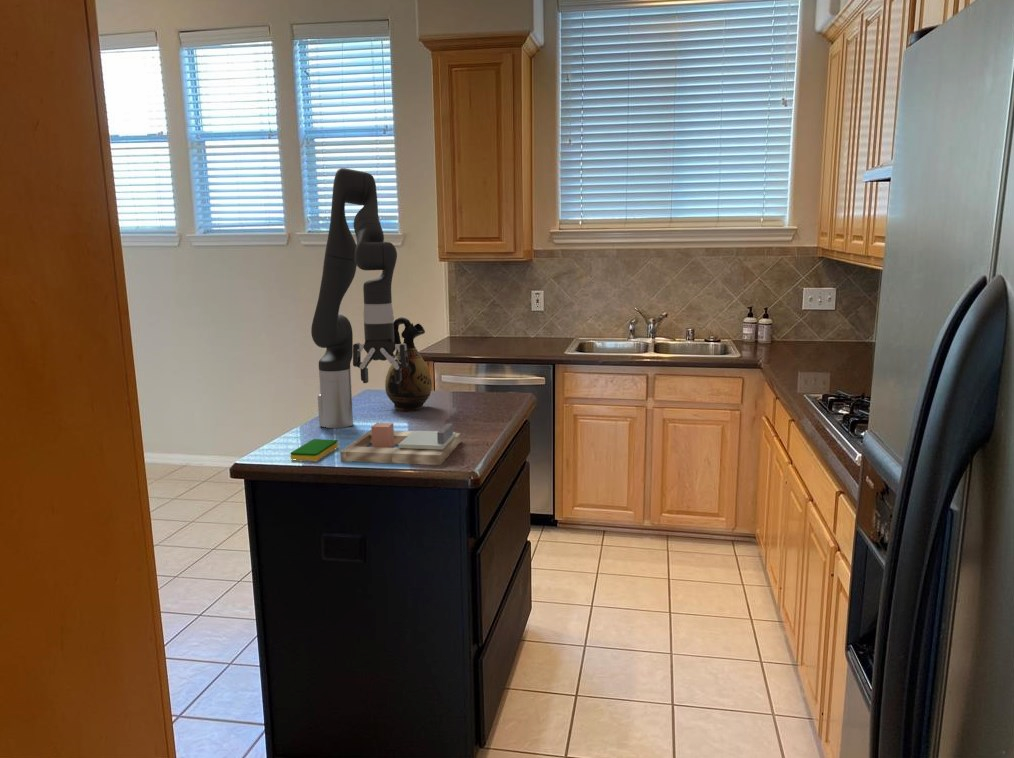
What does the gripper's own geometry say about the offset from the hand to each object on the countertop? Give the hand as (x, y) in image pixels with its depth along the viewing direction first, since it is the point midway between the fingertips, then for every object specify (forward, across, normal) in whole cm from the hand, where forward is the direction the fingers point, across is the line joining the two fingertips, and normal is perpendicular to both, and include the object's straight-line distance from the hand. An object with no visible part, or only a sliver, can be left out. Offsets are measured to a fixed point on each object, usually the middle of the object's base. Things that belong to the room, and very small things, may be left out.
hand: (381, 383), depth 195 cm
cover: (+15, +12, 0) cm, 19 cm away
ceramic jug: (+18, -9, +51) cm, 55 cm away
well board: (+18, +5, 0) cm, 19 cm away
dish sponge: (+19, -17, -5) cm, 26 cm away
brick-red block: (+18, 0, 0) cm, 18 cm away
